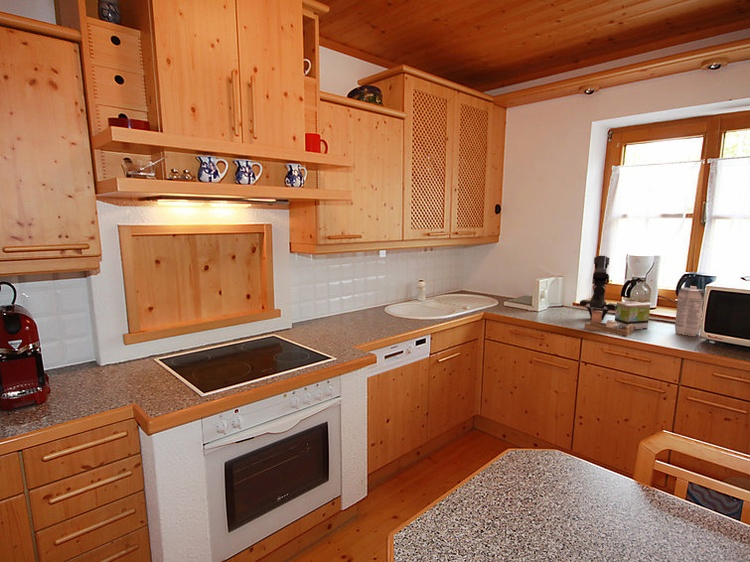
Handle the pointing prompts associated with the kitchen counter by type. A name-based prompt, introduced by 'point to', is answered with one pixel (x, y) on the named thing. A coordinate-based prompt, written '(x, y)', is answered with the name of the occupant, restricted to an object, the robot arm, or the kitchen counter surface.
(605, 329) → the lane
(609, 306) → the robot arm
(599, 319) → the pinkish tan cube
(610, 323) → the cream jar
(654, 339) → the kitchen counter surface
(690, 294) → the juice carton
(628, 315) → the tea box
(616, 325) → the pusher plate
